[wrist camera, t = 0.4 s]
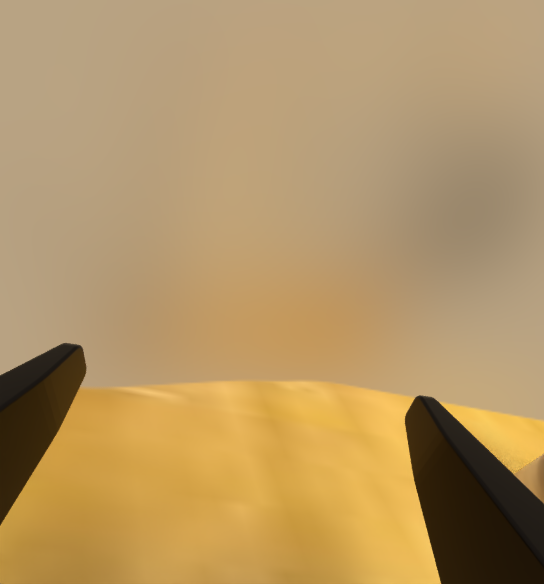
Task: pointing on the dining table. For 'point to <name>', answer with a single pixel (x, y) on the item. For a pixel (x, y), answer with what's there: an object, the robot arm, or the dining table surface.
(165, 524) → the dining table surface
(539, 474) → the peg
